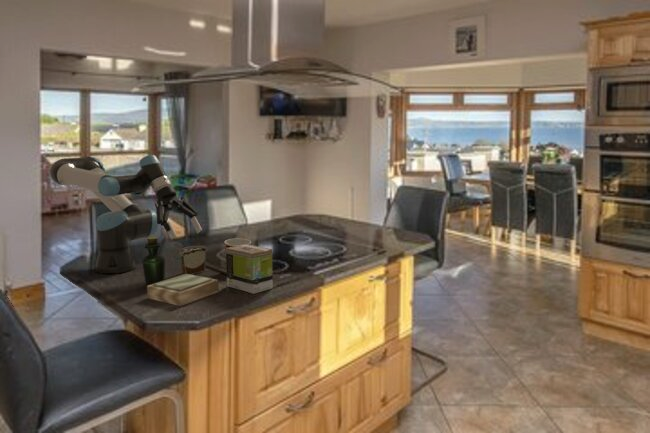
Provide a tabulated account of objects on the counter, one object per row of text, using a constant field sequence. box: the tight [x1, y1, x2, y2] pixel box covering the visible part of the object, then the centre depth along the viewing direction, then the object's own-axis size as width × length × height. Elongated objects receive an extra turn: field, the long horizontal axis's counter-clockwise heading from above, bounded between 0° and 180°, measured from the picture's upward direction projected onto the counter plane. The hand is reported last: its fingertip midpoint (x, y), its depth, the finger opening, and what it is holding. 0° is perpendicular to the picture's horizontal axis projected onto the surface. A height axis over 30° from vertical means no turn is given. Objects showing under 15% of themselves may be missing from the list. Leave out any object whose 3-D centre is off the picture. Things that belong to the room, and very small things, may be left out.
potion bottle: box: [141, 236, 166, 287], centre depth 203 cm, size 8×8×18 cm
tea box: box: [225, 244, 274, 294], centre depth 200 cm, size 15×10×15 cm
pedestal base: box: [146, 274, 220, 307], centre depth 192 cm, size 16×18×5 cm
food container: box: [178, 245, 208, 275], centre depth 221 cm, size 12×6×10 cm, turn 141°
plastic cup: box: [224, 237, 252, 249], centre depth 224 cm, size 11×11×12 cm
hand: (187, 234), depth 220 cm, fingers open, 13 cm apart
